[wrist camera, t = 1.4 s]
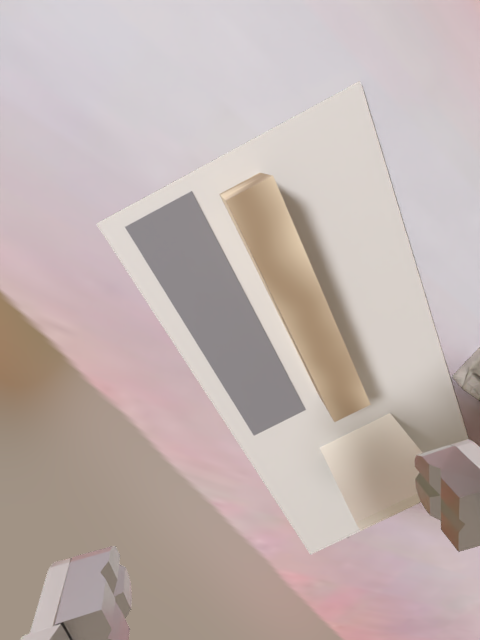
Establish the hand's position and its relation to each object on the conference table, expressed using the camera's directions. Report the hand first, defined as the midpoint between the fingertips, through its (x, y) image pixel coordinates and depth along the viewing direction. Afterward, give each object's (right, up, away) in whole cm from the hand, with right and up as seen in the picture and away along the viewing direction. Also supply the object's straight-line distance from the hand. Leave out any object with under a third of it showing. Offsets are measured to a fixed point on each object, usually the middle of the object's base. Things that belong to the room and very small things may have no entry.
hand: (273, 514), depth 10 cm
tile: (+10, -5, +25) cm, 28 cm away
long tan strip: (+3, +7, +19) cm, 21 cm away
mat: (+6, +1, +23) cm, 24 cm away
